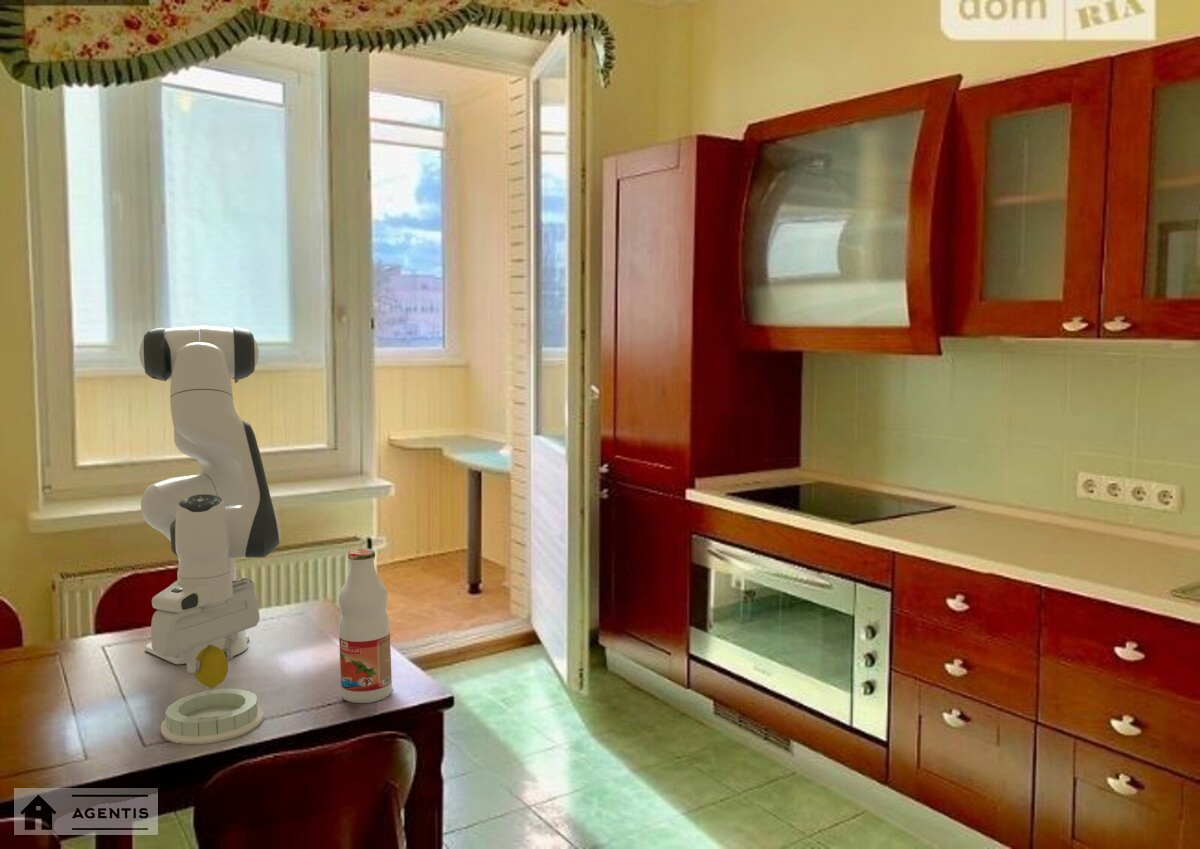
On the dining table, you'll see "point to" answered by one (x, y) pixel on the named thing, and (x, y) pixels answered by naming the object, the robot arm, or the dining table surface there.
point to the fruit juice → (364, 632)
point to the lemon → (211, 666)
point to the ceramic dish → (212, 716)
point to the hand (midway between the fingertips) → (210, 665)
